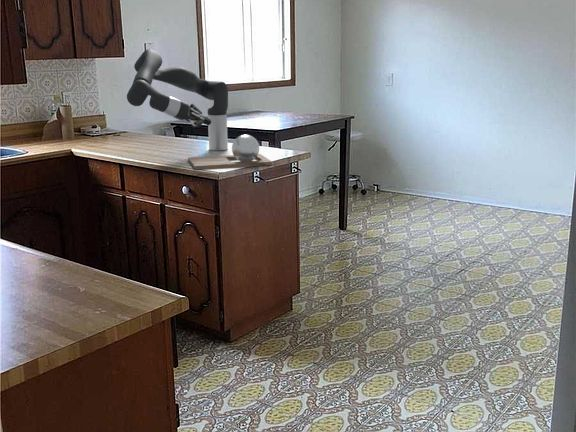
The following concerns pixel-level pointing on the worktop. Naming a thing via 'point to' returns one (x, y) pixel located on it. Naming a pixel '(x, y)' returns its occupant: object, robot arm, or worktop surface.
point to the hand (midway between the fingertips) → (210, 122)
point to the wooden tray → (225, 162)
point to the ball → (245, 148)
